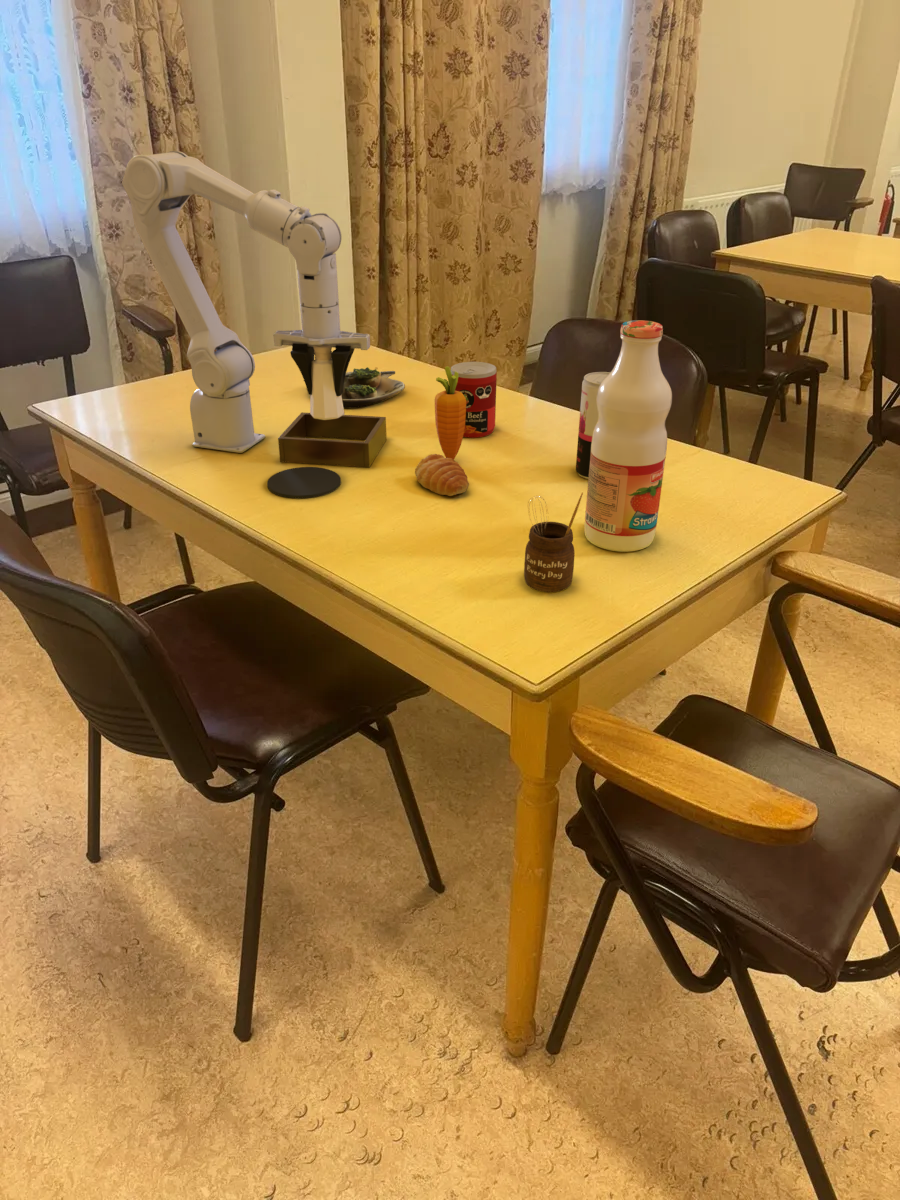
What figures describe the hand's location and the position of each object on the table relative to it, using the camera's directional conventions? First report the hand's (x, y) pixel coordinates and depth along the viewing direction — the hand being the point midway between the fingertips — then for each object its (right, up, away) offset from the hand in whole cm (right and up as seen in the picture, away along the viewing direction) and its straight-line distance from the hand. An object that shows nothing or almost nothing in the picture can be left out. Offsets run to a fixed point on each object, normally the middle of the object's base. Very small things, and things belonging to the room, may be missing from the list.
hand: (325, 393), depth 139 cm
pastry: (+18, -15, -5) cm, 24 cm away
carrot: (+20, -10, +3) cm, 22 cm away
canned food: (+23, -3, +16) cm, 28 cm away
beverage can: (+42, -13, -1) cm, 44 cm away
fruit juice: (+42, -24, -20) cm, 52 cm away
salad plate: (+1, +7, +33) cm, 34 cm away
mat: (-3, -15, -5) cm, 16 cm away
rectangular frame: (+1, -8, +7) cm, 11 cm away
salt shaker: (0, -3, +2) cm, 4 cm away
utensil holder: (+32, -30, -30) cm, 53 cm away
